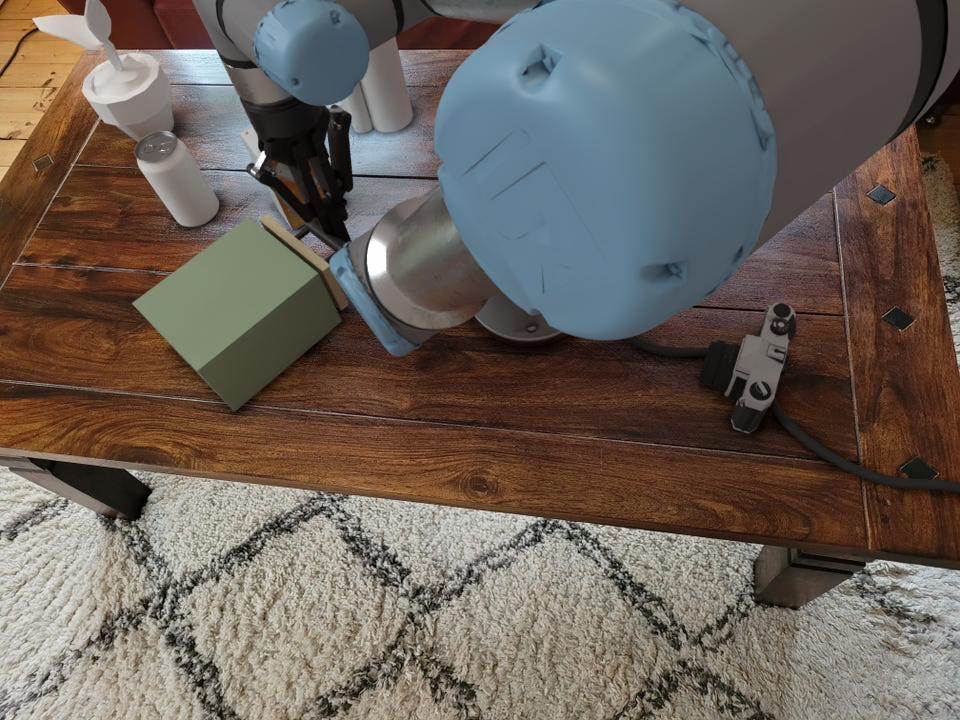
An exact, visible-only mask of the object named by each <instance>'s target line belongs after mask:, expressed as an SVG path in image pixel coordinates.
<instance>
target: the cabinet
mask: <svg viewBox="0 0 960 720" xmlns="http://www.w3.org/2000/svg"><path fill="white" fill-rule="evenodd" d="M131 304H132V306H134V307H135V308H136V309H137V311H138V312H139V313H140V314H141V315H142V316H143V317H144V318H145V319H146V320H147V321H148V323H149V324H150V325H151V326H152V328H154V329H155V330H156V331H157V333H159V334H160V336H161V337H162V338H163V339H164V340H165V341H166V342H167V343H168V344H169V346H170V347H172V349H174V351H175V352H176V353H177V354H178V355H179V356H180V357H181V358H182V359H183V360H184V361H185V362H186V363H187V364H188V365H189V366H190V367H191V369H193V370H194V372H196V374H197V375H198V376H199V377H200V378H201V379H202V380H203V381H204V382H205V383H206V384H207V385H208V386H209V387H210V388H211V389H212V390H213V391H214V392H215V393H216V394H217V395H218V396H219V397H220V399H221V400H223V402H224V403H225V404H227V405H228V407H229V408H230V409H231V410H232V411H233V412H237V411H238V410H239V409H241V407H242V406H244V405H245V404H246V403H247V402H248V401H250V400H251V399H252V398H253V397H255V396H256V395H257V394H258V393H259V392H260V391H261V390H262V389H263V388H265V387H266V386H268V385H269V384H270V383H271V382H272V381H273V380H274V379H276V377H278V376H279V375H280V374H282V372H284V371H285V370H286V369H287V368H288V367H290V366H291V365H292V364H293V363H294V362H296V361H297V360H298V359H299V358H301V357H302V356H303V355H304V354H305V353H306V352H307V351H308V350H310V349H311V348H312V347H314V345H316V344H317V343H318V342H319V341H321V339H323V338H324V337H325V336H326V335H328V334H329V333H330V332H331V331H332V330H334V329H335V327H337V326H338V325H340V324H341V323H342V321H343V320H342V318H341V316H340V314H339V312H338V310H337V308H336V306H335V305H334V304H333V302H332V300H331V298H330V296H329V294H328V292H327V290H326V288H325V286H324V284H323V282H322V280H321V278H320V275H319V273H318V272H316V271H315V270H314V269H313V268H311V267H310V266H309V265H308V264H307V263H305V262H304V261H303V260H302V259H300V258H299V257H298V256H297V255H296V254H294V253H293V252H292V251H291V250H289V249H288V248H287V247H286V246H284V245H283V244H282V243H281V242H280V241H278V240H277V239H276V238H275V237H273V236H272V235H271V234H270V233H269V232H267V231H266V230H265V229H264V228H263V226H262V225H260V224H259V223H258V222H257V221H255V220H254V219H253V218H252V217H250V216H248V217H246V218H245V219H243V220H242V221H241V222H239V223H238V224H236V226H234V227H233V228H231V229H230V230H228V231H227V232H226V233H224V234H223V235H222V236H220V237H219V238H218V239H216V240H215V241H213V242H212V243H211V244H210V245H208V246H207V247H205V249H203V250H201V251H200V252H199V253H197V254H196V255H194V257H192V258H190V259H189V260H188V261H187V262H185V263H184V264H183V265H182V266H180V267H179V268H177V269H176V270H175V271H173V272H172V273H171V274H170V275H168V276H166V277H165V278H164V279H163V280H161V281H160V282H158V283H157V284H155V285H154V286H153V287H151V288H150V289H149V290H148V291H146V292H145V293H144V294H143V295H141V296H139V297H138V298H137V299H136V300H134V301H133V302H132V303H131Z"/></svg>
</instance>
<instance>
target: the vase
mask: <svg viewBox="0 0 960 720" xmlns="http://www.w3.org/2000/svg"><path fill="white" fill-rule="evenodd" d="M396 37H397V36H395V37H394V38H392V39H390V40H389V41H387V42H385V43H384V44H382V45H380V46H378V47H377V48H375V49H373V50H371V51H370V52H369V56H370V57H369V63H368V68H367V71H366V74H365V76H364V78H363V79H362V80H360V81H359V82H358V84H357V85H356V86H355V88H354V92H353V93H352V94H351V95H349V96H348V97H347V98H345V99H344V100H342V101H340V102H339V104H340V107H341V108H342V109H344V110H345V111H347V112H348V113H350V114H351V115H352V120H351V125H352V127H353V130H354V131H355V133H357V134H366V133H370V132H371V131H372V130H373V129H374V130H376V131H378V132H381V133H386V134H387V133H395V132H399V131H401V130H403V129H405V128H406V127H408V125H410V124H411V122H412V120H413V116H414V112H413V109H412V103H411V99H410V95H409V91H408V86H407V81H406V77H405V73H404V68H403V63H402V60H401V56H400V51H399V46H398V42H397V38H396Z"/></svg>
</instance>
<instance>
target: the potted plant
mask: <svg viewBox="0 0 960 720" xmlns="http://www.w3.org/2000/svg"><path fill="white" fill-rule="evenodd" d="M31 20H32V21H33V23H34V24H35V26H36V27H37V28H38V30H39V31H40V32H42V33H45V34H47V35H50V36H53V37H57V38H60V39H63V40H66V41H69V42H71V43H73V44H75V45H77V46H79V47H80V48H83V49H84V50H87V51H89V52H100V50H101V49H103V50H104V53H105V54H106V57H107V60H105V61H103V62H101V63H99V64H97V65H96V66H95V67H94V68H93V69H92V70H91V71H90V72H89V73H88V74H87V75H86V76H85V77H84V80H83V83H82V84H83V85H82V88H81V93H82V94H83V96H84V97H85V99H86V100H87V101H88V103H89V104H90V105H91V107H92V108H93V110H94V111H95V113H96V114H97V115H98V117H99V118H100V119H101V120H102V121H103V123H104V124H107V125H113V126H115V127H117V128H118V129H119V130H121V131H122V132H124V133H125V134H126V135H127V136H129V137H130V138H131V139H133V140H134V141H136V142H137V143H138V142H139V141H140V140H141V139H142V138H143V137H145V136H147V135H148V134H151V133H153V132H157V131H169V132H172V131H173V130H174V125H175V120H174V114H173V109H172V104H171V103H172V102H171V99H172V91H173V86H172V83H171V82H170V80H169V78H168V76H167V75H166V72H165V71H164V69H163V68H162V66H161V64H160V63H159V62H158V61H157V59H155V57H153V55H151V54H148V53H147V54H146V53H142V52H137V51H135V52H129V53H124V54H121V55H119V54H118V51H117V49H116V47H115V44H114V43H113V42H112V41H111V40H110V39H109V37H110V35H111V33H112V18H111V17H110V15H109V12H108V10H107V8H106V6H105V5H104V4H103V3H102V2H101V1H100V0H85V6H84V14H83V15H81V14H80V15H79V14H55V15H45V16H38V17H32V18H31Z"/></svg>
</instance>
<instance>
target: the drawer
mask: <svg viewBox="0 0 960 720" xmlns="http://www.w3.org/2000/svg"><path fill="white" fill-rule="evenodd" d="M259 222H260V224H261V227H262V228H264V229H265V230H266V231H267V232H269V233H270V234H271V235H272V236H273V237H275V238H276V239H277V240H278V241H280V242H281V243H282V244H283V245H284V246H286V247H287V248H288V249H289V250H291V251H292V252H293V253H294V254H296V255H297V256H298V257H299V258H300V259H302V260H303V261H304V262H305V263H307V264H308V265H309V266H310V267H311V268H313V269H314V270H315V271H316V272H318V273H319V275H320V278H321V280H322V282H323V284H324V286H325V288H326V290H327V292H328V294H329V296H330V298H331V300H332V302H333V304H334V306H335V307H337V308H338V309H339V310H340V311H343V310H344V309H346V308H347V307H348V306H349V302H348V299H347V298H346V296H345V292H344V290H343V289H342V287H341V286H340V285H339V283H338V281H337V280H336V278H335V277H334V275H333V274H332V272H331V270H330V266H329V262H330V259H331V257H332V256H333V255H334V254H335V253H337V252H338V251H339V250H340V249H342V248H343V246H344V244H345V242H343V241H342V240H341V239H339V238H338V237H337V236H336V235H334V234H333V233H332V232H330V233H329V234H328V235H326V234H325V233H324V232H323V231H321V230H320V229H319V228H318V227H317V225H316V223H315V221H314V219H313V220H312V221H311V222H310V223H306V224H304V228H303V229H301V230H300V231H299V232H297V233H296V234H295V235H294V234H292V232H290V231H288V230H287V229H286V228H285V227H284V226H282V225H281V224H280V223H278V221H276V220H275V219H273V218H272V217H271V216H270V215H268V214H266V215H265V216H263V217H262V218H261V219H259ZM309 234H312V235H313V236H314V237H315V238H317V239H318V240H319V241H321V242H322V243H323V244H324V245H326V246H327V247H328V248H329V249H330V250H332V251H333V252H332V253H331V254H330V255H329V256H327V257H326V258H325V259H323V258H322V257H321V256H320V255H319V254H318V253H316V252H315V251H313V250H312V249H311V248H310V247H308V246H307V245H306V244H305V243H304V242H303V241H301V240H302V239H303V238H305V237H306V236H308V235H309Z"/></svg>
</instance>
